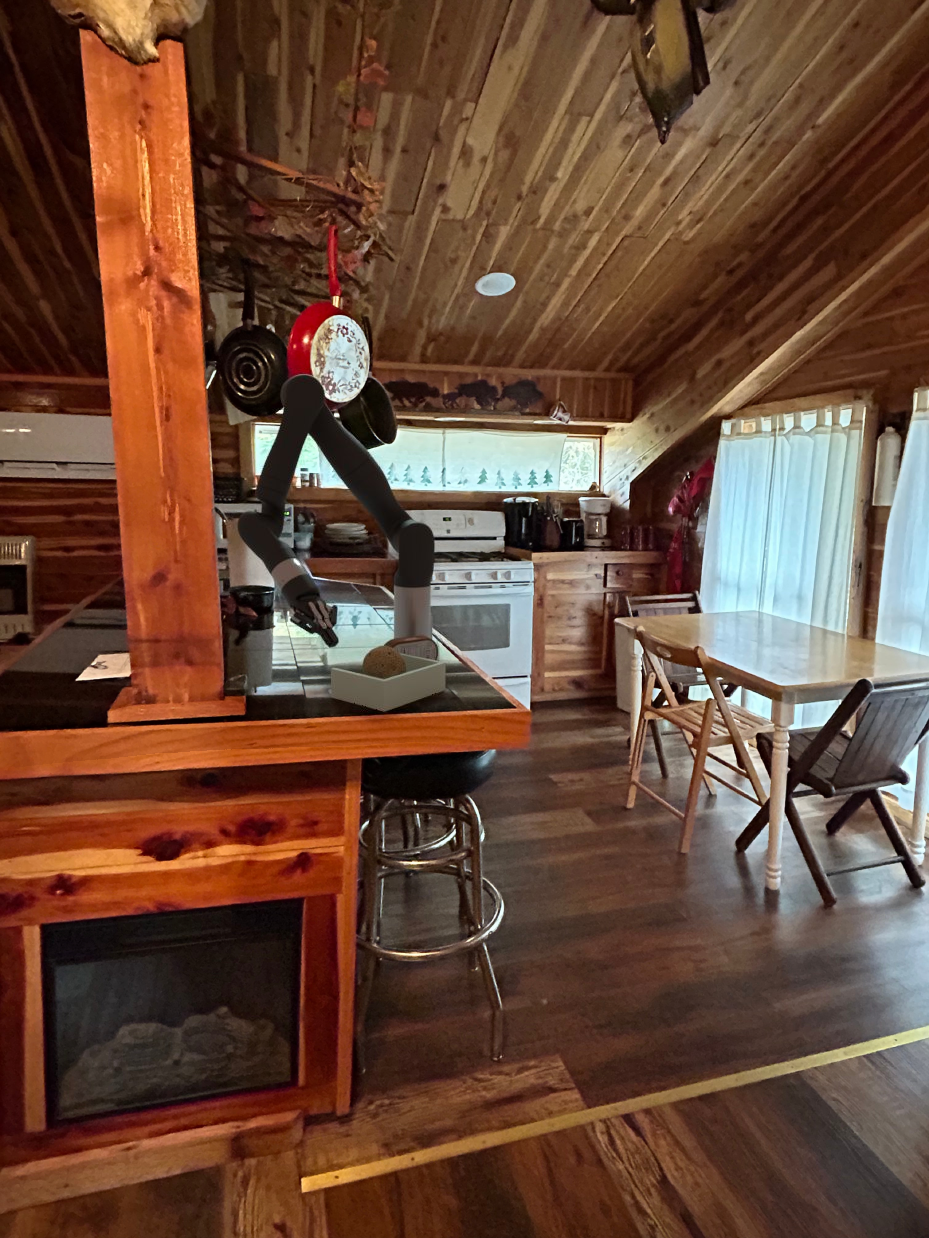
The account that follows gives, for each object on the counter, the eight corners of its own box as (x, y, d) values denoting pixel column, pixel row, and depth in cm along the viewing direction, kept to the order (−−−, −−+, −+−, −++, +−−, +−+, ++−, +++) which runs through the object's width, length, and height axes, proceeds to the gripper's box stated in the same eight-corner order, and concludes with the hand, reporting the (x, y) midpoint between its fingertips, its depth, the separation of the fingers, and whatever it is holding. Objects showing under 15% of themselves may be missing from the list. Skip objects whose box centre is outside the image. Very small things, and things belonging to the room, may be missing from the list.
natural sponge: (383, 684, 163) (383, 639, 161) (415, 691, 158) (415, 645, 156) (353, 693, 156) (353, 646, 154) (386, 701, 151) (386, 653, 149)
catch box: (393, 678, 168) (393, 651, 167) (445, 690, 160) (445, 662, 159) (331, 697, 153) (330, 668, 152) (384, 711, 145) (384, 681, 144)
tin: (432, 667, 178) (432, 632, 177) (440, 670, 176) (440, 634, 174) (377, 676, 169) (377, 640, 168) (385, 679, 167) (385, 642, 165)
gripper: (279, 575, 162) (320, 640, 157) (325, 570, 172) (364, 630, 167) (264, 597, 166) (303, 660, 161) (309, 590, 176) (347, 649, 171)
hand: (334, 645), depth 164 cm, fingers closed
